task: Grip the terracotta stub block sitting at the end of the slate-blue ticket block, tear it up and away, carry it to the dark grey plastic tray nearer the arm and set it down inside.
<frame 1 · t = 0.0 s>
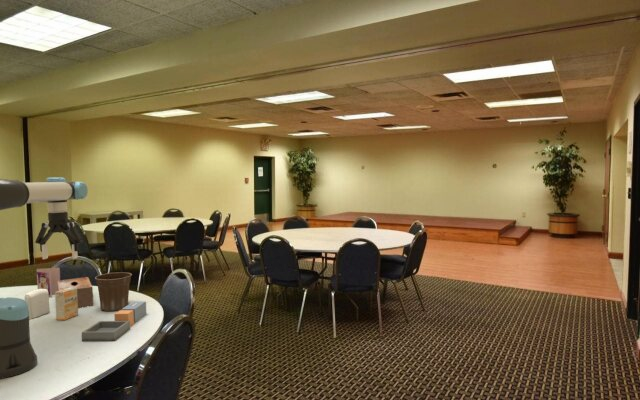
hand: (60, 258, 189), 28 cm above the table, tool pointing down, fingers open, 13 cm apart
pink box: (49, 295, 231), on the table
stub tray: (106, 334, 171), on the table
tissue box cover: (75, 303, 218), on the table
ticket block: (134, 318, 191), on the table
plant pot: (115, 308, 207), on the table
photo printer: (37, 316, 197), on the table
supplement box: (67, 317, 194), on the table
stub: (124, 325, 182), on the table
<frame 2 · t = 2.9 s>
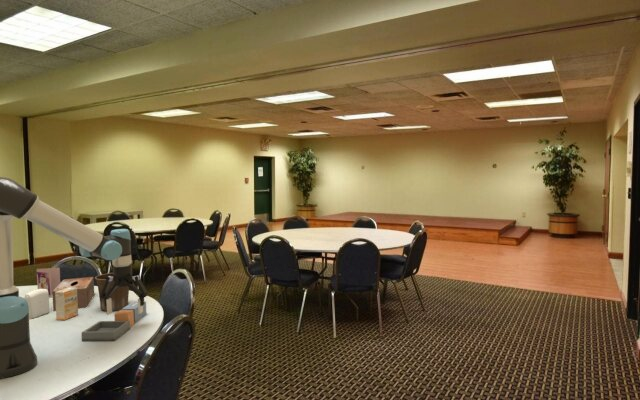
hand: (125, 313, 182), 5 cm above the table, tool pointing down, fingers open, 13 cm apart
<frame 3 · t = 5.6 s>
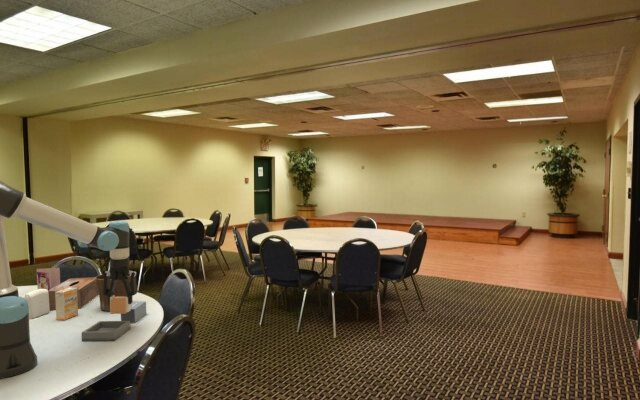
hand: (120, 311, 180), 7 cm above the table, tool pointing down, fingers closed on stub, 6 cm apart
stub: (120, 311, 180), point 7 cm above the table, touching gripper
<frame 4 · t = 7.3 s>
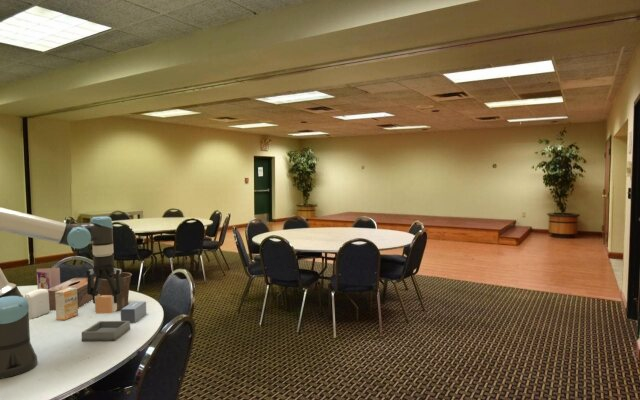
hand: (106, 310, 171), 10 cm above the table, tool pointing down, fingers closed on stub, 6 cm apart
stub: (106, 311, 171), point 10 cm above the table, touching gripper
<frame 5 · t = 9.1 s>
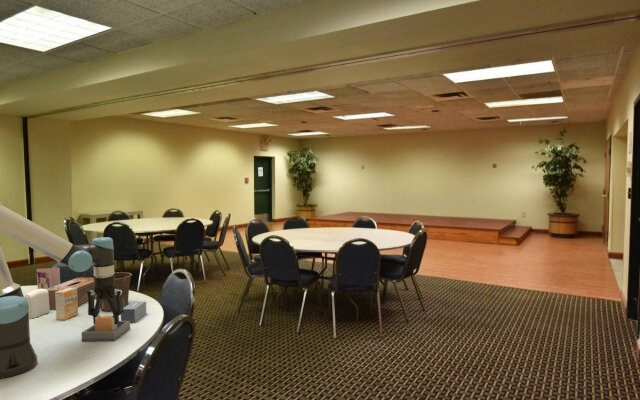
hand: (106, 331, 171), 1 cm above the table, tool pointing down, fingers closed on stub, 6 cm apart
stub: (107, 332, 171), point 1 cm above the table, touching gripper
when the fingers open (2 cm above the table, at t = 10.4 s): stub stays where it is, resting on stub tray.
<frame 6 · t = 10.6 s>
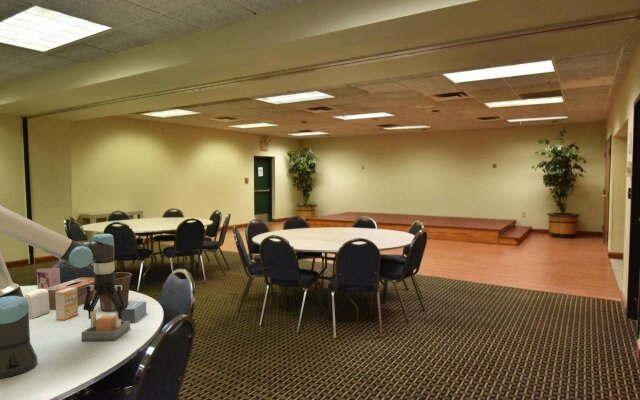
hand: (106, 326, 171), 4 cm above the table, tool pointing down, fingers open, 10 cm apart
stub: (107, 332, 171), point 1 cm above the table, touching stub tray
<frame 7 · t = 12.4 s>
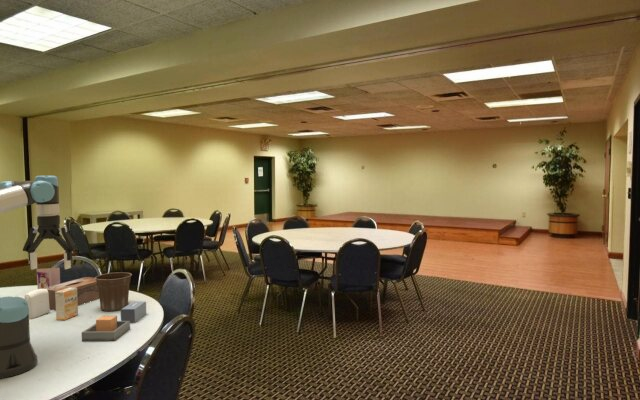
hand: (50, 268, 165), 29 cm above the table, tool pointing down, fingers open, 13 cm apart
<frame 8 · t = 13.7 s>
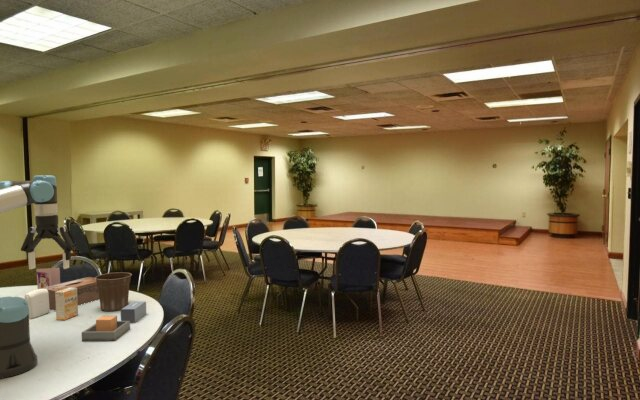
hand: (49, 268, 165), 29 cm above the table, tool pointing down, fingers open, 13 cm apart
at the end: stub inside the target area on the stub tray (0.3 cm from its centre), point 1.0 cm above the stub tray's base; stub touching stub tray; the gripper is holding nothing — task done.
